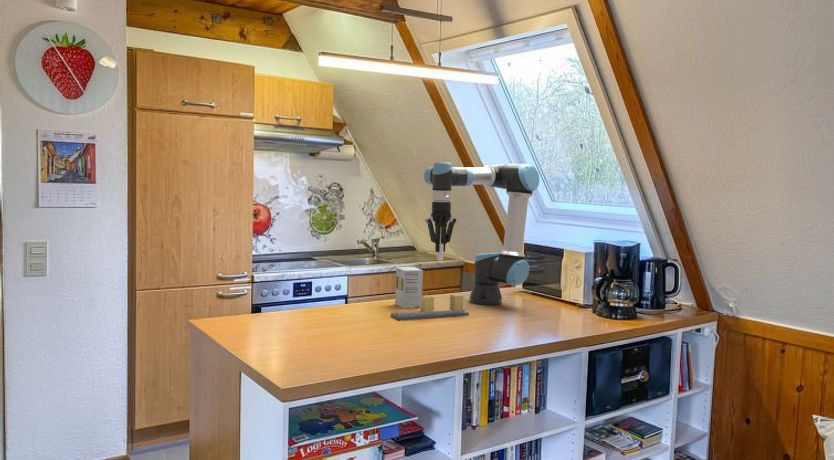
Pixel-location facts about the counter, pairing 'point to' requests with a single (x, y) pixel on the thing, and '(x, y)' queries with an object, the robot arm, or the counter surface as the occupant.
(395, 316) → the board
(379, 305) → the counter surface
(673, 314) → the counter surface
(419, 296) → the supplement box
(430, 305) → the block
